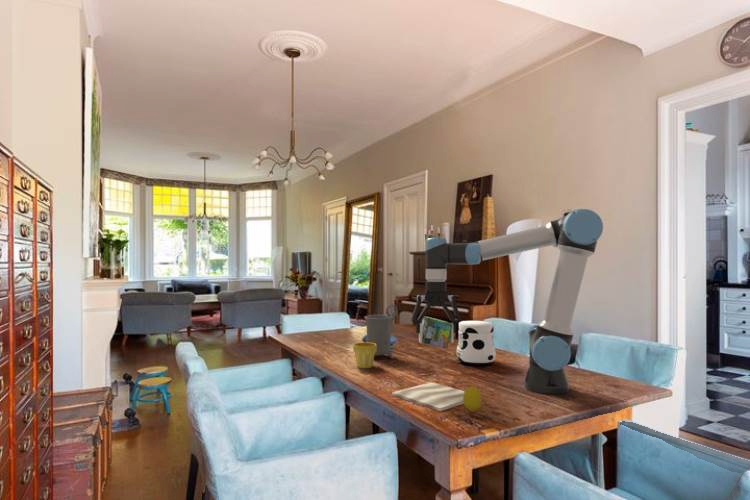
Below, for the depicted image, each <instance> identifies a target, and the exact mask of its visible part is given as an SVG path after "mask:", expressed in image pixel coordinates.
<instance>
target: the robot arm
mask: <svg viewBox="0 0 750 500" xmlns="http://www.w3.org/2000/svg"><path fill="white" fill-rule="evenodd" d="M603 231H604V223H603V219H602V218H601V216H600V215H599V214H598V213H596V212H595V211H594V210H591V209H588V208H577V209H574V210H572V211H570V212H569V213H567V214H566V215H565V216H563V217H560V218H558V219H554V220H551V221H548V222H547V223H546V224H545V225H542V226H538V227H533V228H529V229H525V230H522V231H521V230H520V231H517V232H512V233H507V234H503V235H499V236H495V237H490V238H487V239H482V240H478V241H474V242H463V243H461V242H459V243H456V242H455V243H449V242H447V238H445V237H430V238H427V239H426V241H425V252H424V253H425V254H424V255H425V280H426V281H425V294H424V295H419V294H417V296H416V303H415V306H414V309H413V312H412V315H411V319H410V321H411V322H412V323H413V324H415V332H416V334H418V336H419V339H418V342H419V344H423V342H422V324H421V323H422V320H423V318H424V316H426V315H427V313H428V312H429V310H430V309H431V307H432V308H436V307H439V308H442V309H443V311H444V313H445V314H446V315H447V317H448V318H449V320H450V322H451V324H453V325H452V330H451V335H450V339H449V343H452V344H453V343H454V334H456V333H457V324H459V322H462V317H461V315H460V312H459V308H458V306H457V303H456V295H453V294H451V295H450V294H449V295H448V292H447V289H448V288H447V285H448V284H447V281H446V280H447V273H448V271H447V267H448V266H447V265H470V266H473V265H479V264H480V263H481V262H482V261H486V260H491V259H495V258H496V259H497V258H500V257H504V256H509V255H514V254H519V253H522V252H527V251H532V250H536V249H540V248H545V247H550V246H552V247H554V248H557V249H558V250H559V256H558V260H557V263H556V267H555V271H554V276H553V280H552V285H551V288H550V293H549V296H548V301H547V303H546V309H545V311H544V316H543V320H541V321H540V322H537V324H531V325H529V329H528V335H529V337H528V338H529V339H528V340H529V343H528V345H529V348H528V349H529V358H528V359H529V365H528V370H527V372H526V375H525V378H524V388H525V389H527V390H528V391H531V392H535V393H540V394H548V395H559V394H560V395H561V394H566V393H568V392H569V391H570V384H569V381H568V377H567V375H566V374H567V373H566V372H565V369H564V368H565V367H566V366H567V365H568V364H569V362H570V359H571V356H572V355H571V353H572V351H571V346H572V341H573V339H574V338H573V337H574V332H573V330H572V329H571V324H572V321H573V317H574V313H575V310H576V306H577V302H578V298H579V294H580V290H581V285H582V282H583V278H584V274H585V271H586V266H587V262H588V258H589V257H591V256H593V255H594V254H595V252H596V247H597V244H598V240H599V239H600V238H601V236H602V233H603ZM424 300H425V301H426V303H425V305H424V307H423V309H422V311H421V313H420V314H419V311H420V309H421V305H422V302H423V301H424ZM447 300H448V302H450V305H451V308H452V311H453V314H454V315H453V314H452V312H451V311H450V309H449V307H448V306H447V304H446V302H447ZM418 314H419V316H418ZM454 316H455V318H454Z"/></svg>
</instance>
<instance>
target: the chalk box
mask: <svg viewBox="0 0 750 500" xmlns="http://www.w3.org/2000/svg"><path fill="white" fill-rule="evenodd" d="M451 323H452V322H451ZM451 323H450V322H448V321H446V320H442V319H438V318H434V317H430V316H426V315H425V316H424V318H423V320H422V321H421V323H420V324H422V344H426V345H429V346H432V347H433V346H434V347H438V348H442V349H445V350H448V347H449V343H450V335H451V330H452V325H453V324H451ZM417 338H418V340H419V335H418V337H417Z"/></svg>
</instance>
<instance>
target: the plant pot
mask: <svg viewBox="0 0 750 500" xmlns="http://www.w3.org/2000/svg"><path fill="white" fill-rule="evenodd" d="M352 350H353V353H354V356H355V362H356V366H357V368H360V369H371V368H372V367H373V365H374V364H373V363H374V359H375V356H376V355H375V353H376V350H377V345H376V344H375V343H369V342H367V341H366V342H365V341H364V342H355V343H353V345H352Z"/></svg>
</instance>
